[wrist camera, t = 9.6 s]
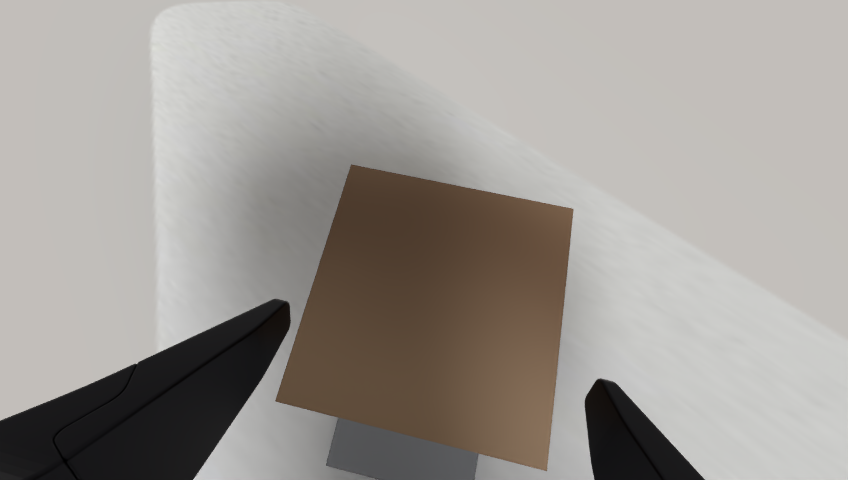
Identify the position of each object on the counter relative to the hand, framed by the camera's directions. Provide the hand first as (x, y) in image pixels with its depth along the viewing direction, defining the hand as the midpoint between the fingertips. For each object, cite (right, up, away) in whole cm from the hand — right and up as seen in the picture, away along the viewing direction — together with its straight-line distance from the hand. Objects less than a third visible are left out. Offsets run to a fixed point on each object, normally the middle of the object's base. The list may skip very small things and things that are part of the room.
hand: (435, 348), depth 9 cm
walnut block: (0, -1, +8) cm, 8 cm away
